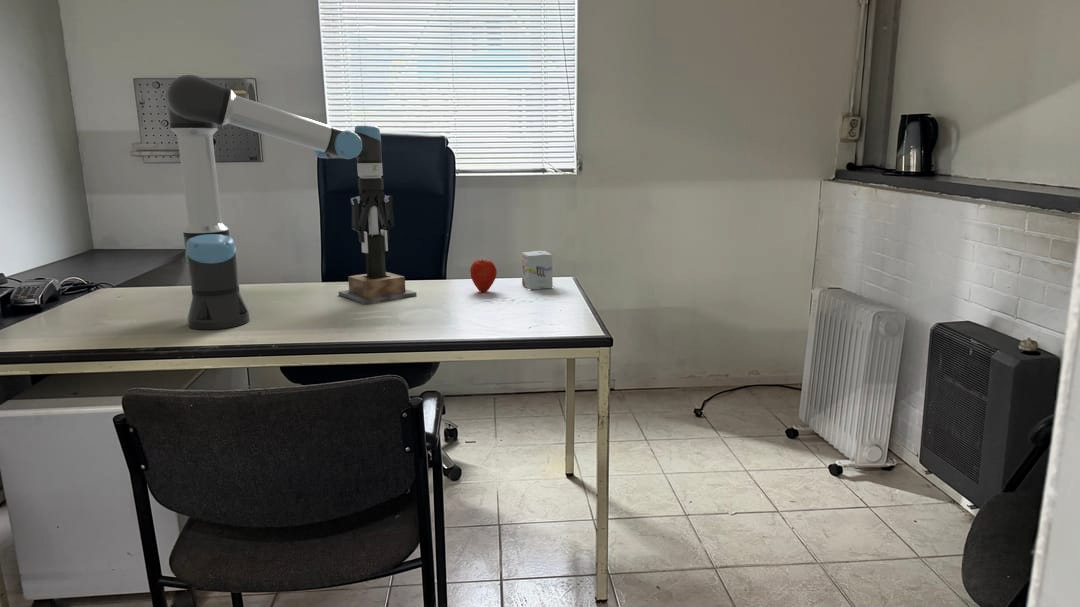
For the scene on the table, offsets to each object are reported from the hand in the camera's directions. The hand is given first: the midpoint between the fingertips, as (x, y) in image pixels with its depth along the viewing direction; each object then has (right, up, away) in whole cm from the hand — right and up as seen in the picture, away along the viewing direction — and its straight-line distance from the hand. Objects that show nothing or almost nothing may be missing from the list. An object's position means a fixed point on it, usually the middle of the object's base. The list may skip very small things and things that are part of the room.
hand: (375, 251), depth 216 cm
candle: (0, -8, +2) cm, 8 cm away
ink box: (+51, -11, +16) cm, 55 cm away
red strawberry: (+34, -13, +9) cm, 37 cm away
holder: (0, -14, +3) cm, 14 cm away
